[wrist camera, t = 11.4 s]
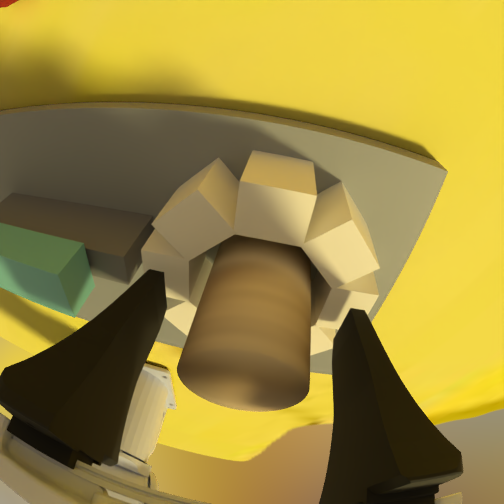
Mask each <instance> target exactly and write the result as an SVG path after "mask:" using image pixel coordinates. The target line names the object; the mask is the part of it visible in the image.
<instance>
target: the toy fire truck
mask: <svg viewBox="0 0 504 504" xmlns="http://www.w3.org/2000/svg"><path fill="white" fill-rule="evenodd" d="M16 1H18V0H0V8H1V7H8V6H9V5H11V4H13V3H15V2H16Z"/></svg>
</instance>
